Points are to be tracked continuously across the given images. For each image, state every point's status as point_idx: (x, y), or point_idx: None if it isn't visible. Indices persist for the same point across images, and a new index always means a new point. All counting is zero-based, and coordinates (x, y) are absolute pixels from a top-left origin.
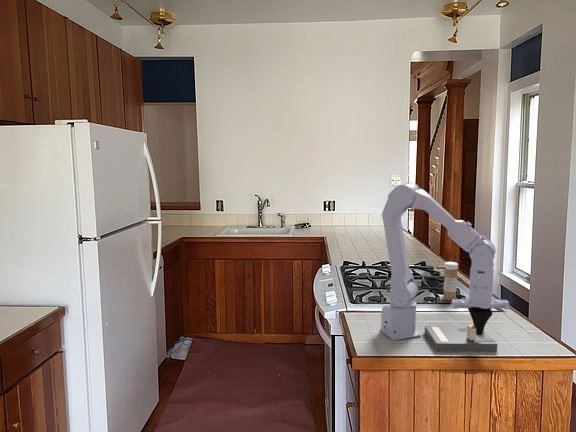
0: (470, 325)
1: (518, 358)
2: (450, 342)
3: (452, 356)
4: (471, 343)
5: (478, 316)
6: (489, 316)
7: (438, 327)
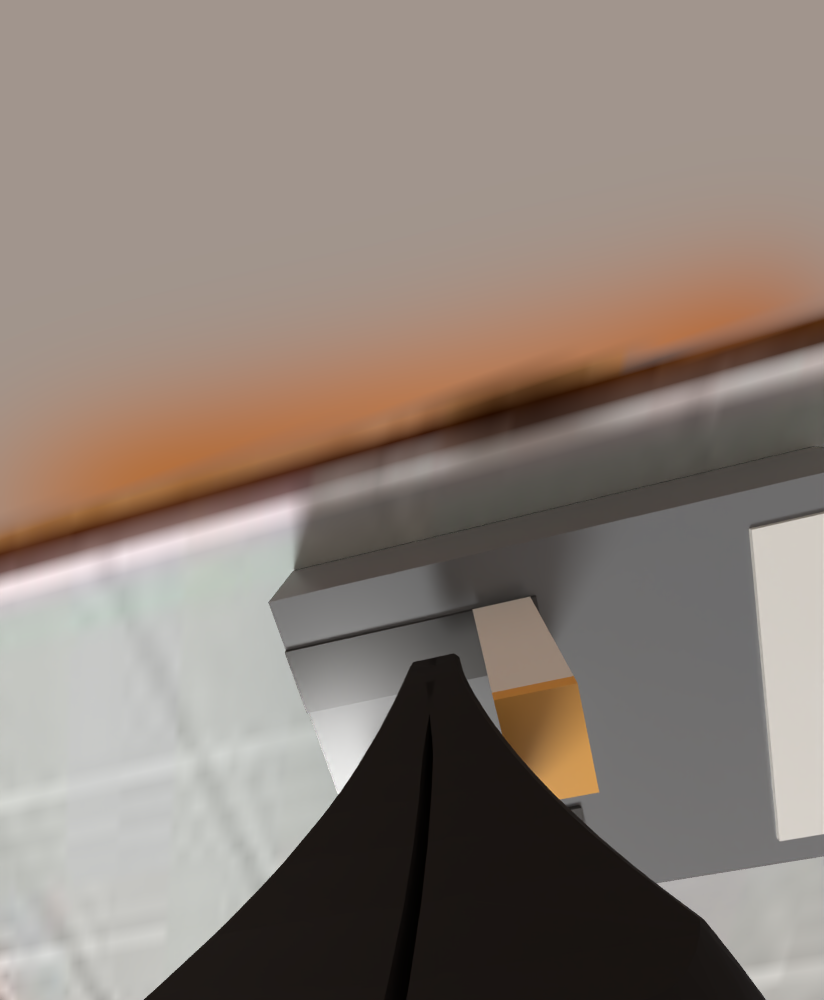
0: (559, 777)
1: (138, 489)
2: (735, 516)
3: (685, 373)
4: (517, 547)
5: (542, 887)
6: (228, 941)
7: (772, 834)
